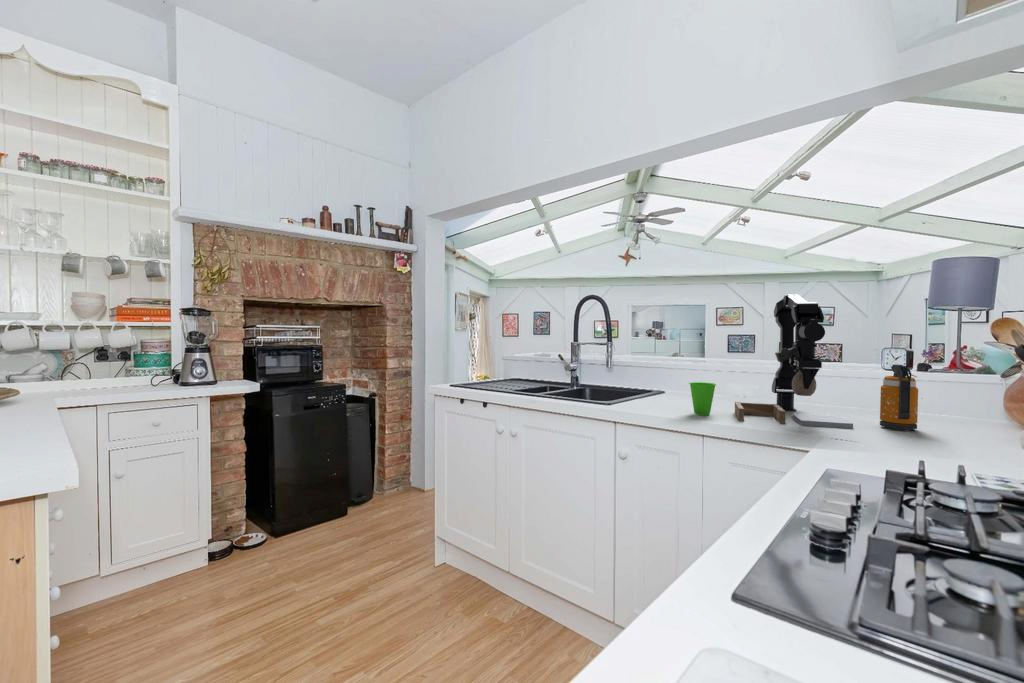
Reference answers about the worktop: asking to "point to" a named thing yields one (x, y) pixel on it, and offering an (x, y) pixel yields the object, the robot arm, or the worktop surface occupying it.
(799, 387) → the vase
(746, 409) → the holder
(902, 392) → the canister
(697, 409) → the cup
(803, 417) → the board
